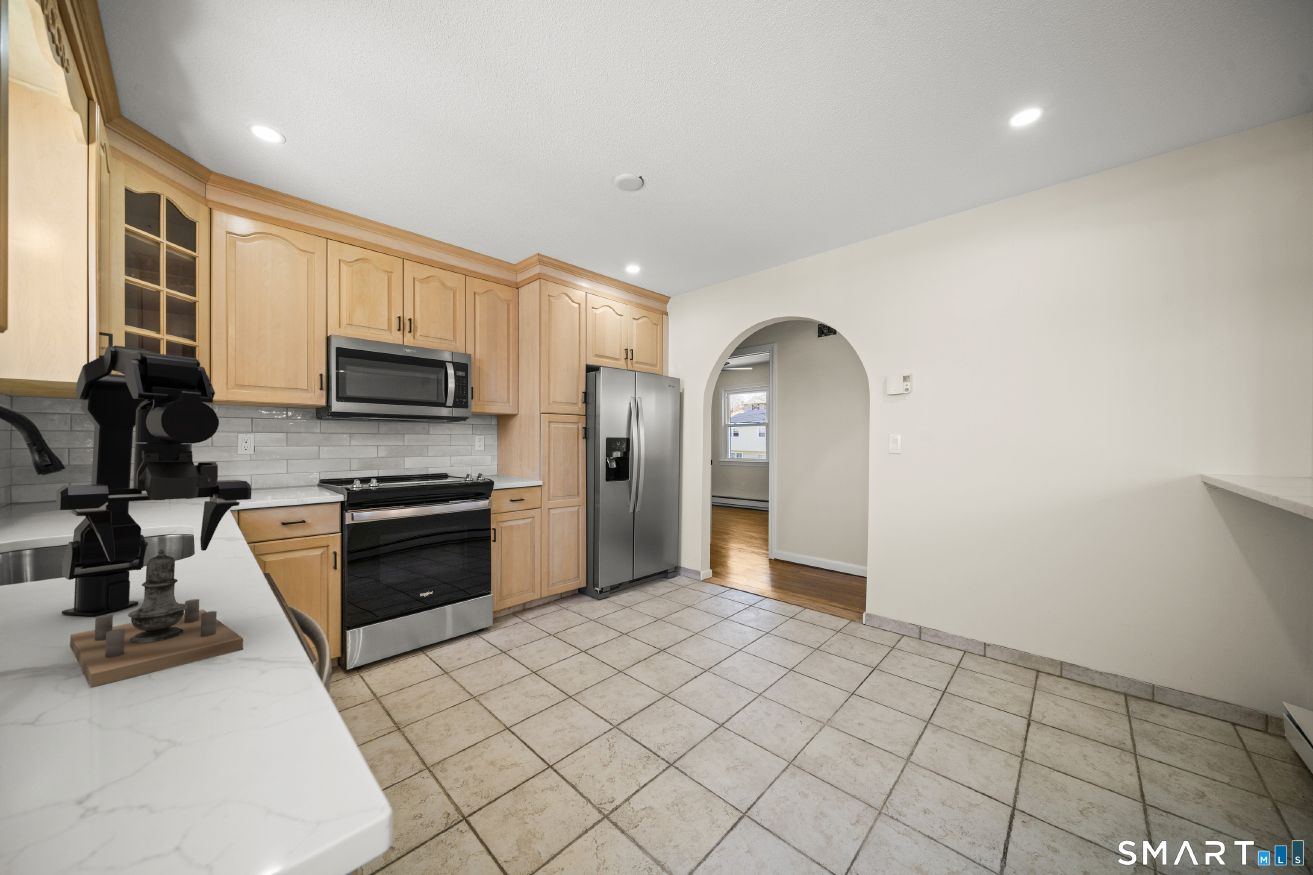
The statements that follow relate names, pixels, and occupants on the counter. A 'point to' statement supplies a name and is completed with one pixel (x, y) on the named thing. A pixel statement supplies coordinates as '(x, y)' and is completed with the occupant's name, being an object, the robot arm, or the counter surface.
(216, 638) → the peg board
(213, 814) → the counter surface
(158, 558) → the dark grey turned piece
